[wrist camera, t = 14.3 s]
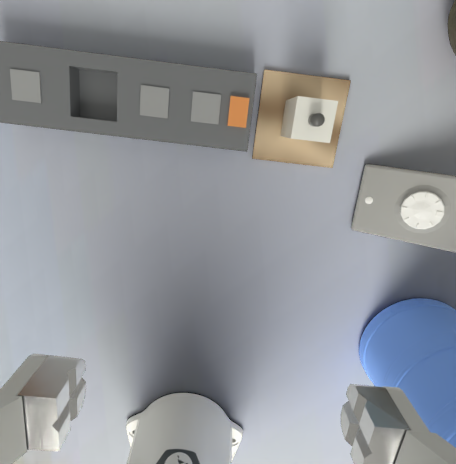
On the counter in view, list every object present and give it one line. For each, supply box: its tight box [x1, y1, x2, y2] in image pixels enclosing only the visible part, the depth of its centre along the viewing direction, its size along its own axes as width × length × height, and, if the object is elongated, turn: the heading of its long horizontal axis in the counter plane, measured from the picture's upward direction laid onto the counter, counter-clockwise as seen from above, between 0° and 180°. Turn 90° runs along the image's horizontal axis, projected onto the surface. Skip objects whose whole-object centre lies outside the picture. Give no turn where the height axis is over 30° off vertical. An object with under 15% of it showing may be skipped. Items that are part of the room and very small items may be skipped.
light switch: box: [351, 164, 456, 253], centre depth 41 cm, size 8×6×14 cm
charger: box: [280, 96, 338, 143], centre depth 36 cm, size 4×4×9 cm
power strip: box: [0, 41, 257, 152], centre depth 37 cm, size 8×28×5 cm, turn 83°
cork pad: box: [252, 70, 351, 168], centre depth 40 cm, size 10×10×1 cm
